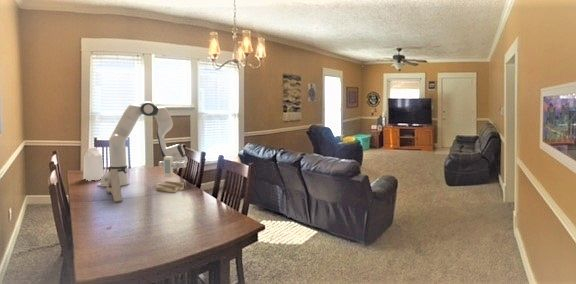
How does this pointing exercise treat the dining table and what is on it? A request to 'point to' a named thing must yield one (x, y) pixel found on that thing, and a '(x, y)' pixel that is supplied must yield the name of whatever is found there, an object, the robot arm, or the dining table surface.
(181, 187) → the stand
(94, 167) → the milk
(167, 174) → the white grey box
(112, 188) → the wall bracket
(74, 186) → the dining table surface
